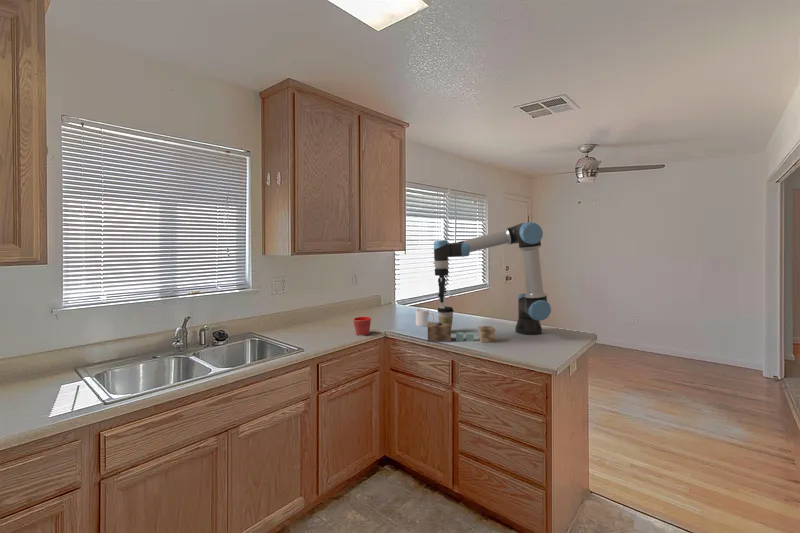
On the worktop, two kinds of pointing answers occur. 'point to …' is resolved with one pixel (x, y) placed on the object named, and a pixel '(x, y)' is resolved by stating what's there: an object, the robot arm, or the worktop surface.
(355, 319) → the flower pot
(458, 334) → the cube
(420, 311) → the cup
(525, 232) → the robot arm
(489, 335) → the oak box
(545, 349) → the worktop surface
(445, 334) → the brown wooden box
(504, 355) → the worktop surface
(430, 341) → the mat
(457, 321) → the worktop surface
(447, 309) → the coffee cup
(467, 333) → the cube
